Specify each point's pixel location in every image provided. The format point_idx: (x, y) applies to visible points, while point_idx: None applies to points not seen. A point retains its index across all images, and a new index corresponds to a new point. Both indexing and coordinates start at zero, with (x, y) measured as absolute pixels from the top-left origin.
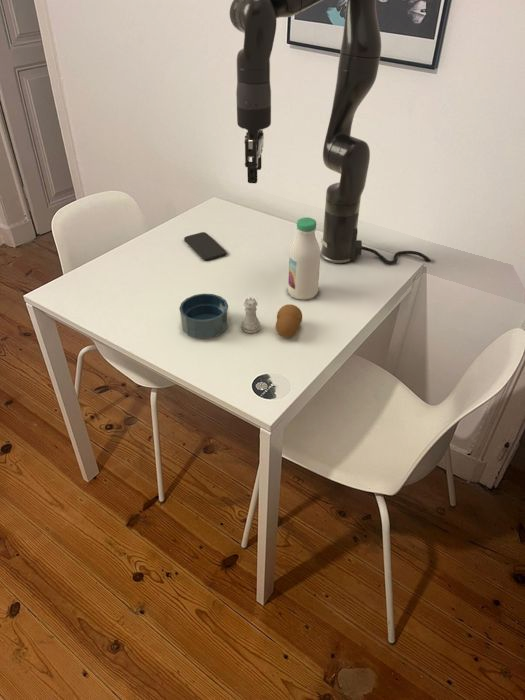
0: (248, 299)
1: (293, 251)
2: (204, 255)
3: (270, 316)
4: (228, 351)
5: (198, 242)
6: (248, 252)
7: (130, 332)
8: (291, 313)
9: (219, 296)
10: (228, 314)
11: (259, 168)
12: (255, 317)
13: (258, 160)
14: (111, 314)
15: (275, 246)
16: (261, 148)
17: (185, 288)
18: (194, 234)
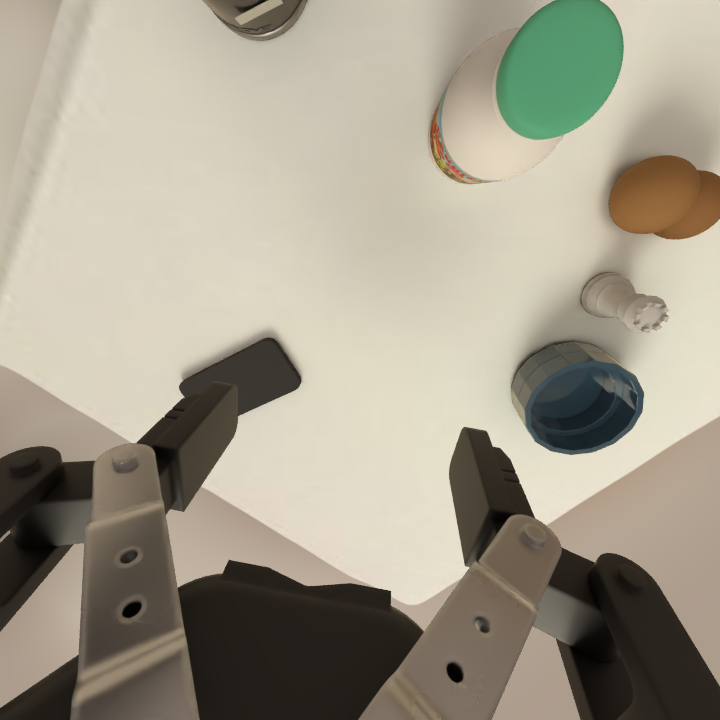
0: (633, 320)
1: (532, 166)
2: (287, 386)
3: (565, 243)
4: (668, 343)
5: None
6: (255, 283)
7: (543, 497)
8: (696, 193)
9: (548, 378)
10: (588, 351)
11: (234, 395)
12: (634, 292)
13: (206, 435)
14: None
15: (215, 203)
16: (140, 491)
17: (412, 419)
18: None
